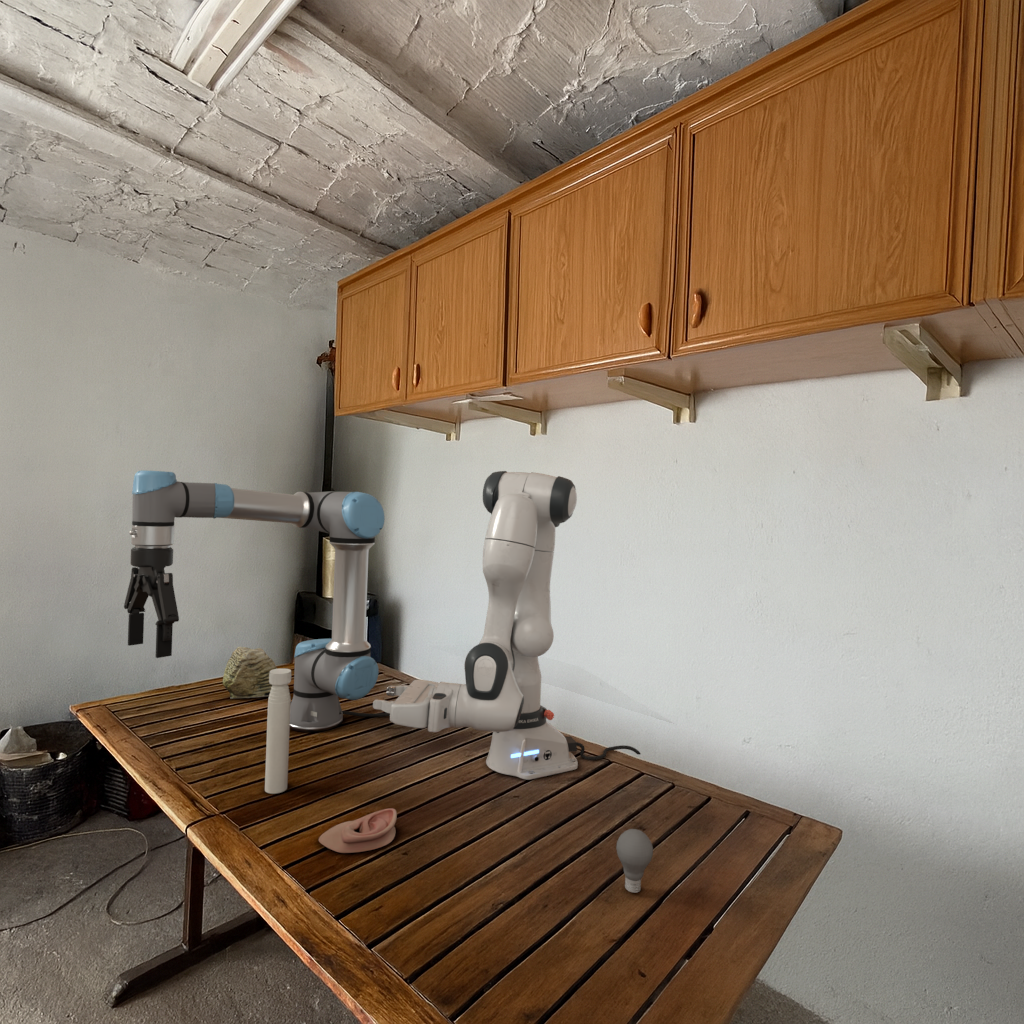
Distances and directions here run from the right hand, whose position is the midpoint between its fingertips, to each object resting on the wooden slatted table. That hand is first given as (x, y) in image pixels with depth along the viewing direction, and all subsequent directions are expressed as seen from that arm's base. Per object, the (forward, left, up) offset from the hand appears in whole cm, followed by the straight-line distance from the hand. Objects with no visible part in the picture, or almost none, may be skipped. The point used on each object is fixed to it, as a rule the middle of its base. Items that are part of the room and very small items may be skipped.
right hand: (380, 696), depth 133 cm
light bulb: (-37, +43, -22) cm, 61 cm away
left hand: (+45, -12, +9) cm, 48 cm away
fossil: (+28, -78, -22) cm, 85 cm away
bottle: (+20, -10, -22) cm, 31 cm away
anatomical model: (+5, +15, -22) cm, 27 cm away
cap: (+20, -10, +3) cm, 23 cm away
